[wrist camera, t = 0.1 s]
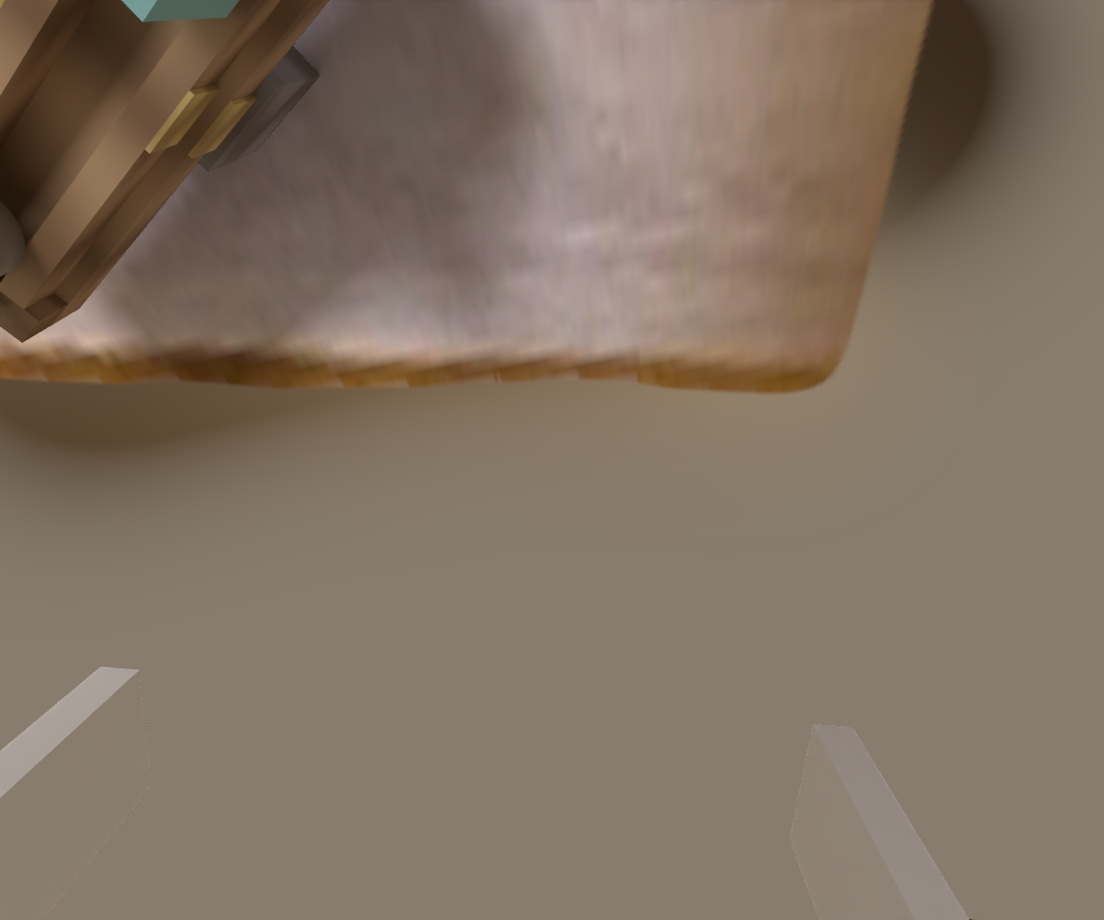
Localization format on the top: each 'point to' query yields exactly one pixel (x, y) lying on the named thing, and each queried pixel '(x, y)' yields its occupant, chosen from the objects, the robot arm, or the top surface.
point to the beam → (122, 129)
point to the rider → (180, 9)
